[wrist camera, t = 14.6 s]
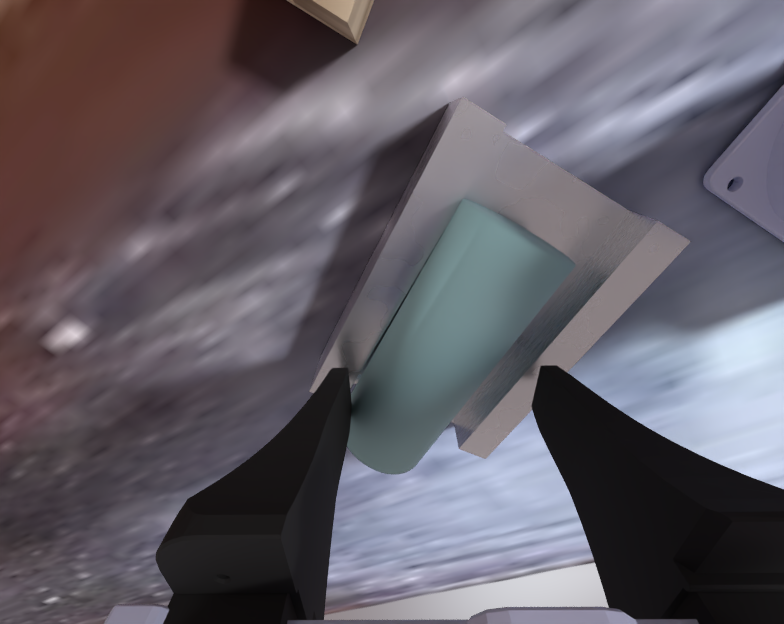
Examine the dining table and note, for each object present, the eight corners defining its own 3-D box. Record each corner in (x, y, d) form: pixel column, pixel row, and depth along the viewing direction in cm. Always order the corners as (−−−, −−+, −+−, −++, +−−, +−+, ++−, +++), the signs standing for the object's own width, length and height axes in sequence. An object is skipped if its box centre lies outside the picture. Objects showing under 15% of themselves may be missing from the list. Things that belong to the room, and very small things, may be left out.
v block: (641, 222, 14) (690, 241, 12) (474, 418, 19) (485, 459, 17) (449, 102, 12) (462, 96, 10) (320, 355, 17) (309, 391, 15)
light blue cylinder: (439, 187, 11) (544, 258, 8) (501, 213, 13) (592, 271, 11) (323, 405, 15) (371, 489, 13) (388, 390, 18) (437, 456, 16)
